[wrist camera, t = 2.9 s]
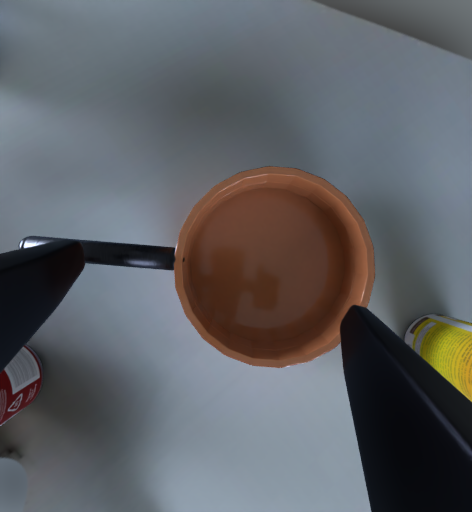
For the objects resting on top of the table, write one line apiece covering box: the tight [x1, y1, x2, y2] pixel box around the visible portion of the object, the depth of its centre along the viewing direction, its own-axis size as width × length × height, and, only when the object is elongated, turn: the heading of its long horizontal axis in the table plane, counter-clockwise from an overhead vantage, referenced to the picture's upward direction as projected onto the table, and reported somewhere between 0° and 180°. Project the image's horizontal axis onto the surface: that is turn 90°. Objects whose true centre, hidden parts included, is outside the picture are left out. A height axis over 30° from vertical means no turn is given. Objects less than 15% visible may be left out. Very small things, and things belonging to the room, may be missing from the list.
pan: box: [174, 166, 375, 368], centre depth 21 cm, size 15×15×5 cm
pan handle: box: [18, 236, 185, 270], centre depth 20 cm, size 13×2×2 cm, turn 85°
